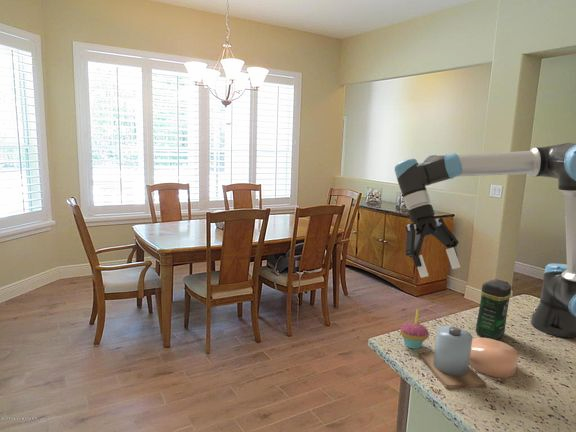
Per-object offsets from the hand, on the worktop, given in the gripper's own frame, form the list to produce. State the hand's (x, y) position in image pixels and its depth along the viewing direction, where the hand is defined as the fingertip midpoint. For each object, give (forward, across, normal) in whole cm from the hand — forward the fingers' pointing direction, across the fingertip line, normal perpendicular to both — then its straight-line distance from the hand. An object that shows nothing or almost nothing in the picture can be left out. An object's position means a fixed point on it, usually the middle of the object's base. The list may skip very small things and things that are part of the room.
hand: (440, 272), depth 121 cm
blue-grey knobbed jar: (+25, +9, +1) cm, 27 cm away
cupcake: (+20, +8, -12) cm, 25 cm away
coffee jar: (+24, -22, -9) cm, 34 cm away
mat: (+26, +9, +1) cm, 28 cm away
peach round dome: (+28, -4, +3) cm, 29 cm away
